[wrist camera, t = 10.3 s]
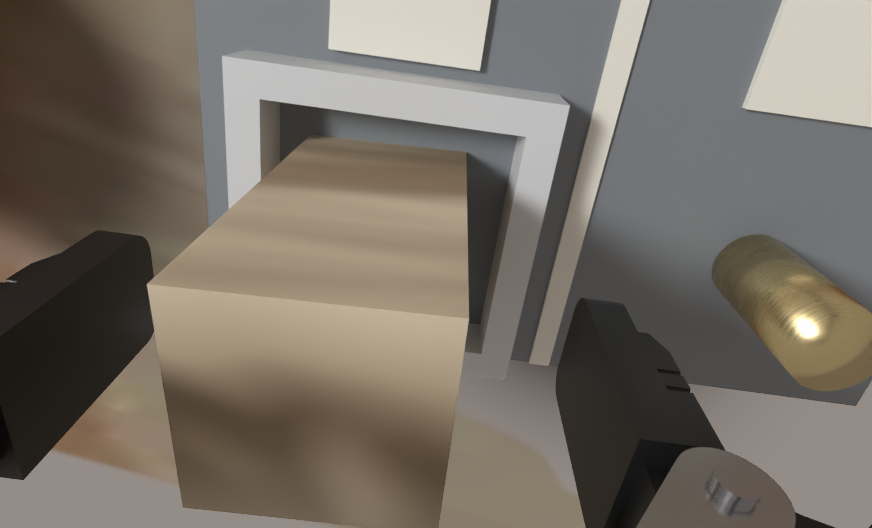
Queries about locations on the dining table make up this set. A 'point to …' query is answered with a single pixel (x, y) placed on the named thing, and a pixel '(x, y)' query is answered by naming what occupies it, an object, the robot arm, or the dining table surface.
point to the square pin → (322, 338)
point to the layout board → (579, 148)
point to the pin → (796, 313)
